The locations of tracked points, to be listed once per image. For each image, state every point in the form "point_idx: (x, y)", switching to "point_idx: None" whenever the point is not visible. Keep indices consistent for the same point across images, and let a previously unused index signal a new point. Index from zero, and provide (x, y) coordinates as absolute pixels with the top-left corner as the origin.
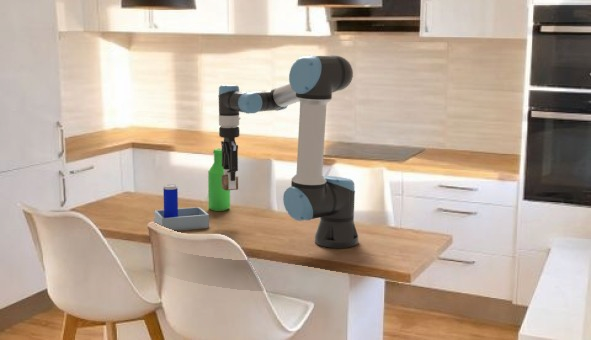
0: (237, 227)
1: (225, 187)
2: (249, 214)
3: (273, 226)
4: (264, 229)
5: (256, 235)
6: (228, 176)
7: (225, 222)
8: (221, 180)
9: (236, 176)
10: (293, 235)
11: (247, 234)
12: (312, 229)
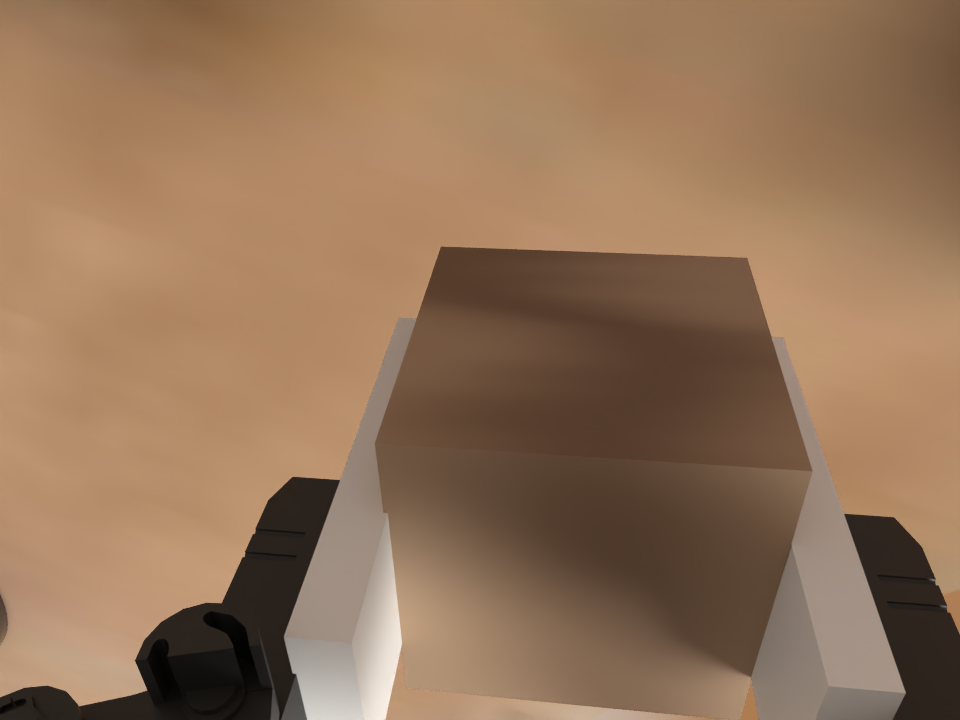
0: (390, 142)
1: (430, 281)
2: (860, 427)
3: (340, 437)
4: (255, 343)
5: (52, 208)
6: (363, 527)
7: (662, 88)
8: (771, 361)
9: (418, 667)
10: (45, 453)
11: (92, 142)
12: (198, 599)
